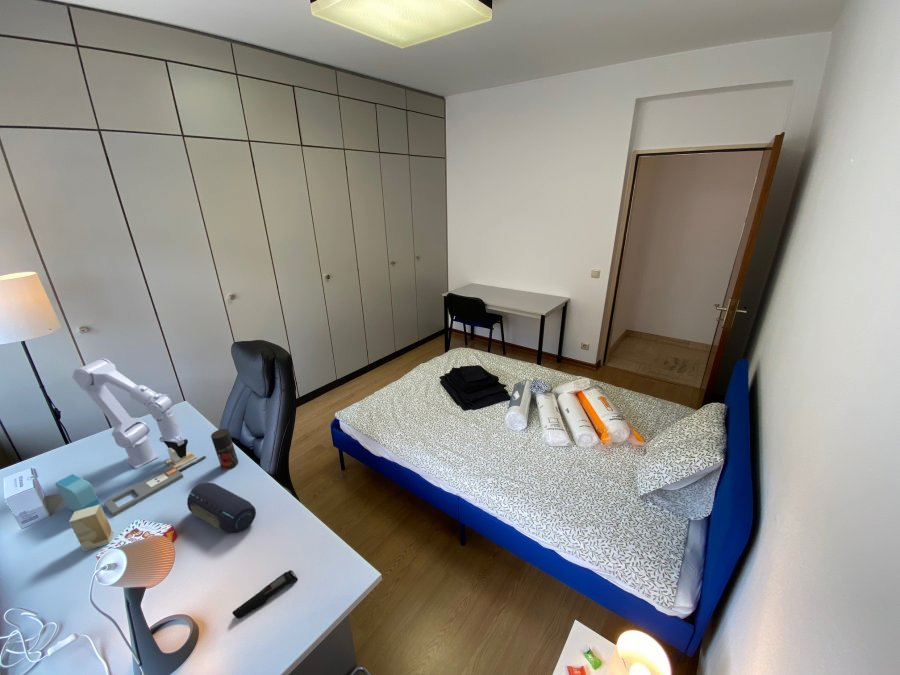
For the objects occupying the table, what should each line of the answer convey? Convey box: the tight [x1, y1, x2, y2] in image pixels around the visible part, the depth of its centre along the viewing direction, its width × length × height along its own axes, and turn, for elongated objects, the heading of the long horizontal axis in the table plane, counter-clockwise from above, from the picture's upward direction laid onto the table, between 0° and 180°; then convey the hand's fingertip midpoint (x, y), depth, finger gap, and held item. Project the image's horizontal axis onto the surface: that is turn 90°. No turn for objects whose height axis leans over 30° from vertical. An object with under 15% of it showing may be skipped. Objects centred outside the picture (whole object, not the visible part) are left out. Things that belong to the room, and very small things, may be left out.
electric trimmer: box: [231, 569, 299, 620], centre depth 95 cm, size 4×16×3 cm, turn 134°
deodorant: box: [210, 428, 239, 471], centre depth 141 cm, size 6×6×15 cm
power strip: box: [103, 455, 207, 517], centre depth 135 cm, size 9×31×2 cm, turn 147°
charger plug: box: [167, 448, 187, 465], centre depth 145 cm, size 4×4×6 cm
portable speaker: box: [186, 482, 257, 535], centre depth 118 cm, size 25×10×10 cm, turn 63°
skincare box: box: [68, 504, 114, 552], centre depth 110 cm, size 6×4×12 cm
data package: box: [55, 474, 103, 513], centre depth 122 cm, size 12×4×12 cm, turn 67°
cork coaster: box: [165, 450, 198, 470], centre depth 146 cm, size 8×8×1 cm
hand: (178, 453), depth 145 cm, fingers open, 7 cm apart
